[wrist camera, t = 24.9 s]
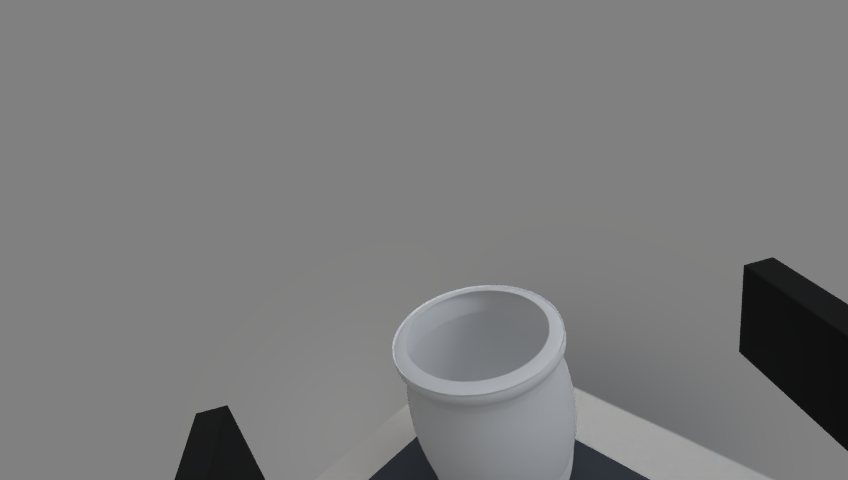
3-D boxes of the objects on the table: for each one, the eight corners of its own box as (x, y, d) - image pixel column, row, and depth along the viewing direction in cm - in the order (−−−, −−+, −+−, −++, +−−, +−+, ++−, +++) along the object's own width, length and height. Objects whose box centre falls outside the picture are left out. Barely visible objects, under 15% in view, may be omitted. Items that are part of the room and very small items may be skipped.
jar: (412, 499, 41) (358, 342, 34) (507, 418, 46) (477, 267, 39) (516, 605, 33) (473, 426, 26) (618, 493, 38) (604, 318, 31)
